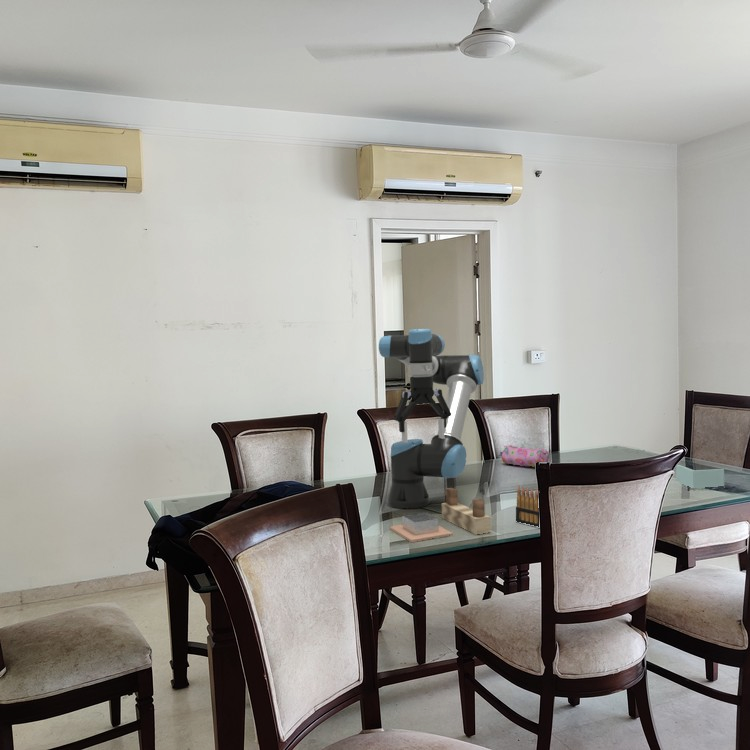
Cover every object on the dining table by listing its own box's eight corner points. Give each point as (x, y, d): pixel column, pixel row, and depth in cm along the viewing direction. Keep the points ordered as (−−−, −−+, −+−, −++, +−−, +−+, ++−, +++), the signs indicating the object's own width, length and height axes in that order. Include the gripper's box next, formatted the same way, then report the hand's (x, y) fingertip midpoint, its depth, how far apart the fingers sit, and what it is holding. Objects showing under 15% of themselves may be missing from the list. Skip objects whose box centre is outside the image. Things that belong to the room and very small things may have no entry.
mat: (389, 529, 219) (389, 526, 219) (428, 522, 224) (428, 520, 224) (411, 542, 204) (411, 540, 204) (452, 535, 210) (452, 533, 209)
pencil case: (499, 465, 314) (498, 445, 314) (510, 462, 320) (510, 443, 320) (539, 471, 299) (539, 450, 298) (550, 467, 305) (550, 447, 304)
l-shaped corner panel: (724, 489, 255) (724, 469, 254) (693, 491, 254) (693, 471, 253) (705, 482, 267) (705, 463, 266) (676, 484, 266) (676, 464, 265)
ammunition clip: (515, 522, 222) (514, 485, 221) (519, 521, 223) (518, 484, 222) (542, 529, 213) (541, 490, 212) (546, 527, 214) (545, 489, 214)
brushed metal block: (402, 528, 217) (402, 515, 216) (425, 524, 220) (425, 512, 220) (415, 535, 208) (414, 522, 208) (438, 531, 212) (438, 518, 211)
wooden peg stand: (442, 518, 230) (441, 488, 229) (455, 516, 231) (454, 486, 231) (476, 535, 209) (475, 502, 209) (490, 532, 211) (489, 500, 210)
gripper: (391, 378, 217) (393, 445, 218) (460, 374, 227) (462, 437, 228) (381, 377, 224) (384, 442, 225) (449, 373, 234) (451, 435, 235)
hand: (423, 440), depth 227 cm, fingers open, 13 cm apart
